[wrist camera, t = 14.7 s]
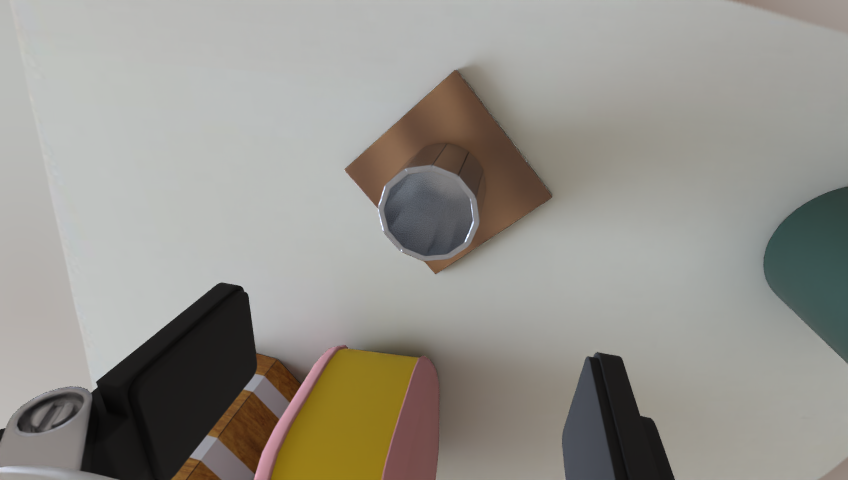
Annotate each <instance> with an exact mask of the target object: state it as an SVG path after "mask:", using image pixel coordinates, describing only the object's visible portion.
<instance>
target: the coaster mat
mask: <svg viewBox="0 0 848 480" xmlns="http://www.w3.org/2000/svg"><path fill="white" fill-rule="evenodd" d="M437 143H450V144H454V145H457V146H460V147H462V148H464V149H466V150H468V151H469V152H470V153H471V154H472V155H473V156H474V157H475V158H476V159H477V160H478V162H479V163H480V165H481V166H482V168H483V170H484V176H485V184H486V195H485V199H484V204H483V209H482V214H481V219H480V224H479V226H478V228H477V230H476V233H475V235H474V237H473V239H472V242H471V244H470V245H469V246H468V247H467V248H465V249H464V250H462V251H461V252H459V253H458V254H456V255H455V256H453V257H452V258H450V259H446V260H433V261H424V262H425V263H426V264H427V265H428V266H429V267H430V268H431V270H432V271H433V272H434V273H435V274H437V273H438V272H440V271H441V270H443V269H444V268H446V267H447V266H449V265H450V264H452V263H453V262H455V261H456V260H458V259H460V258H461V257H463V256H464V255H466V254H467V253H469V252H470V251H472V250H473V249H475V248H476V247H478V246H479V245H481V244H482V243H484V242H485V241H487V240H488V239H490V238H491V237H493V236H494V235H496V234H497V233H499V232H500V231H502V230H504V229H505V228H507V227H508V226H510V225H511V224H513V223H514V222H516V221H517V220H519V219H520V218H522V217H523V216H525V215H526V214H528V213H529V212H531V211H532V210H534V209H535V208H537V207H538V206H540V205H541V204H543V203H545V202H546V201H548V200H549V199H551V198H552V194H551V193H550V192H549V190H548V189H547V188H546V186H545V185H544V184H543V182H542V181H541V180H540V178H539V177H538V176H537V175H536V173H535V172H534V171H533V169H532V168H531V167H530V165H529V164H528V163H527V161H526V160H525V159H524V157H523V156H522V155H521V153H520V152H519V151H518V150H517V148H516V147H515V146H514V144H513V143H512V142H511V140H510V139H509V138H508V136H507V135H506V134H505V132H504V131H503V130H502V128H501V127H500V126H499V124H498V123H497V122H496V121H495V119H494V118H493V117H492V115H491V114H490V113H489V111H488V110H487V109H486V107H485V106H484V105H483V103H482V102H481V101H480V99H479V98H478V97H477V96H476V94H475V93H474V92H473V90H472V89H471V88H470V86H469V85H468V84H467V82H466V81H465V80H464V78H463V77H462V76H461V74H460V73H459V72H458V70H454V71H453V72H452V73H451V74H450V75H449V76H448V77H447V78H446V79H444V80H443V81H442V82H441V83H440V84H439V85H438V86H437V87H436V88H434V89H433V90H432V91H431V92H430V93H429V94H428V95H427V96H426V97H424V98H423V99H422V100H421V101H420V102H419V103H418V104H417V105H416V106H414V107H413V108H412V109H411V110H410V111H409V112H408V113H407V114H406V115H404V116H403V117H402V118H401V119H400V120H399V121H398V122H397V123H396V124H394V125H393V126H392V127H391V128H390V129H389V130H388V131H387V132H385V133H384V134H383V135H382V136H381V137H380V138H379V139H378V140H377V141H375V142H374V143H373V144H372V145H371V146H370V147H369V148H368V149H367V150H365V151H364V152H363V153H362V154H361V155H360V156H359V157H358V158H357V159H355V160H354V161H353V162H352V163H351V164H350V165H349V166H348V167H347V168H345V171H346V173H347V174H348V175H349V176H350V177H351V178H352V179H353V181H354V182H355V183H356V184H357V185H358V186H359V187H360V189H361V190H362V191H363V192H364V193H365V194H366V195H367V197H368V198H369V199H370V200H371V201H372V202H373V203H374V205H375V206H376V207H377V208H378V206H379V203H380V200H381V196H382V193H383V190H384V187H385V185H386V184H387V182H388V181H389V180H390V179H391V178H392V177H393V176H394V175H395V174H396V173H397V172H398V171H399V170H400V169H401V167H402V166H403V165H404V164H405V163H406V162H407V161H408V160H409V159H410V158H411V157H412V156H414V155H415V154H416V153H417V152H418V151H420V150H421V149H422V148H423V147H424V146H427V145H432V144H437Z"/></svg>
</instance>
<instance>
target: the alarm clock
mask: <svg viewBox="0 0 848 480" xmlns="http://www.w3.org/2000/svg"><path fill="white" fill-rule="evenodd" d="M438 449H439V382H438V376H437V372H436V369H435V367H434V365H433V364H432V362H431V361H430V360H429V359H428V358H427V357H425V356H424V355H423V356H421V357H420V358H417V357H410V356H402V355H394V354H386V353H378V352H370V351H363V350H355V349H348V348H347V347H346V345H343V346H337V347H333V348H330V349H328V350H327V351H326V352H325V353H324V354H323V355H322V356H321V357H320V359H319V360H318V361H317V362H316V363H315V364H314V366H313V368H312V369H311V371H310V372H309V374H308V376H307V377H306V379H305V380H304V382H303V383H302V385H301V387H300V388H299V390H298V391H297V393H296V395H295V396H294V398H293V399H292V401H291V403H290V404H289V406H288V407H287V409H286V411H285V412H284V414H283V415H282V417H281V418H280V420H279V422H278V423H277V425H276V426H275V428H274V430H273V432H272V434H271V436H270V438H269V440H268V442H267V444H266V446H265V448H264V450H263V452H262V455H261V458H260V461H259V465H258V468H257V471H256V474H255V477H254V480H436V472H437V461H438Z"/></svg>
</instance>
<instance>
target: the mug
mask: <svg viewBox="0 0 848 480" xmlns="http://www.w3.org/2000/svg"><path fill="white" fill-rule="evenodd" d="M256 357H257V370H256V373H255V375H254V376H253V378H252V379H251V380H250V382H249V383H248V384H247V385H246V387H245V388H244V389H243V390H242V392H241V393H240V394H239V396H238V397H237V398H236V399H235V401H234V402H233V403H232V404H231V406H230V407H229V408H228V409H227V411H226V412H225V413H224V414H223V416H222V417H221V418H220V419H219V421H218V422H217V423H216V425H215V426H214V427H213V428H212V430H211V431H210V432H209V433H208V435H207V436H206V437H205V438H204V440H203V441H202V442H201V443H200V445H199V446H198V447H197V448H196V450H195V451H194V452H193V453H192V455H191V456H190V457H189V459H188V460H187V461H186V462H185V464H184V465H183V466H182V467H181V469H180V470H179V471H178V472H177V474H176V475H175V476H174V477H173V478H172V479H171V480H254V477H255V474H256V471H257V468H258V465H259V461H260V458H261V455H262V452H263V450H264V448H265V446H266V444H267V442H268V440H269V438H270V436H271V434H272V432H273V430H274V428H275V426H276V425H277V423H278V422H279V420H280V418H281V417H282V415H283V414H284V412H285V411H286V409H287V407H288V406H289V404H290V403H291V401H292V399H293V398H294V396H295V395H296V393H297V391H298V390H299V388H300V387H301V384H300V383H299V382H298V381H297V380H296V379H295V378H294V377H293V376H292V374H291V373H290V372H289V371H288V370H287V369H286V368H285V367H284V366H283V365H282V364H281V363H280V362H279V360H278V359H275V358H271V357H267V356H264V355H260V354H256Z"/></svg>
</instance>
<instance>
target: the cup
mask: <svg viewBox="0 0 848 480" xmlns="http://www.w3.org/2000/svg"><path fill="white" fill-rule="evenodd" d="M485 195H486V184H485V176H484V170H483V168H482V166H481V165H480V163H479V162H478V160H477V159H476V158H475V157H474V156H473V155H472V154H471V153H470V152H469V151H468V150H466V149H464V148H462V147H460V146H457V145H454V144H450V143H437V144H432V145H427V146H424V147H423V148H422V149H421V150H420V151H418V152H417V153H416V154H415V155H414V156H412V157H411V158H410V159H409V160H408V161H407V162H406V163H405V164H404V165H403V166H402V167H401V169H400V170H399V171H398V172H397V173H396V174H395V175H394V176H393V177H392V178H391V179H390V180H389V181H388V182H387V184H386V185H385V187H384V190H383V193H382V196H381V200H380V203H379V206H378V211H379V216H380V220H381V224H382V228H383V232H384V234H385V235H386V236H387V237H388V238H389V239H390V240H391V242H392V243H393V244H394V245H395V246H396V247H397V248H398V249H399V251H401V252H403V253H405V254H408V255H410V256H412V257H415V258H417V259H420V260H422V261H433V260H446V259H450V258H452V257H453V256H455V255H456V254H458V253H459V252H461V251H462V250H464V249H465V248H467V247H468V246H469V245H470V244H471V242H472V239H473V237H474V235H475V233H476V230H477V228H478V226H479V224H480V219H481V214H482V209H483V204H484V199H485Z"/></svg>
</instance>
